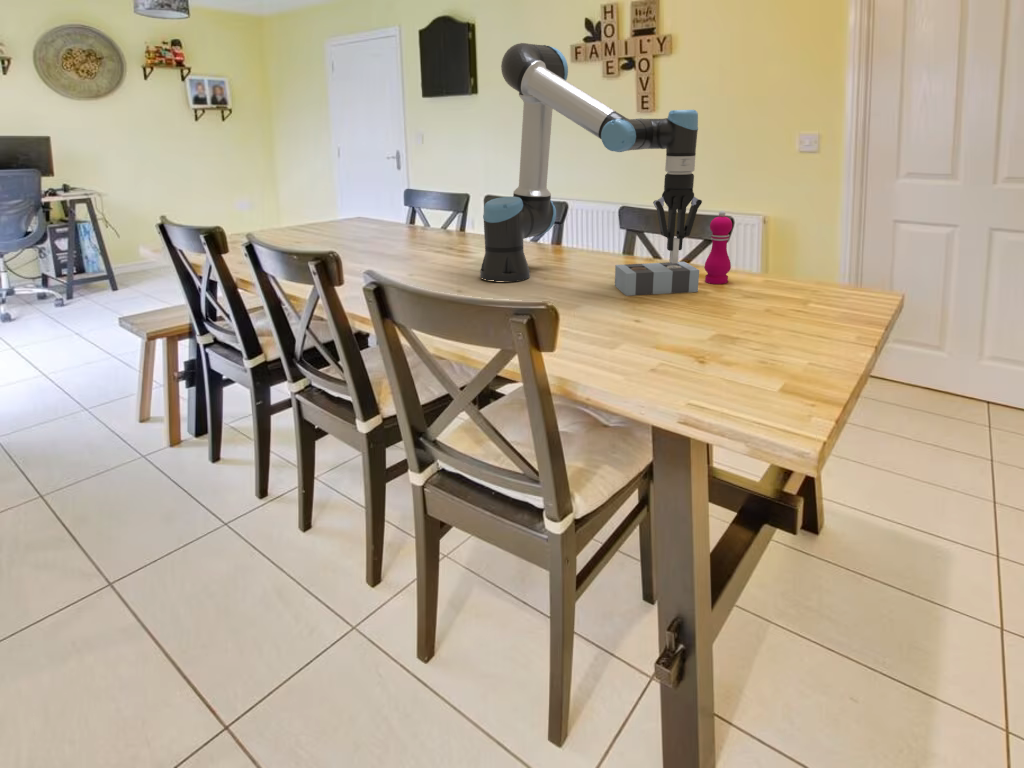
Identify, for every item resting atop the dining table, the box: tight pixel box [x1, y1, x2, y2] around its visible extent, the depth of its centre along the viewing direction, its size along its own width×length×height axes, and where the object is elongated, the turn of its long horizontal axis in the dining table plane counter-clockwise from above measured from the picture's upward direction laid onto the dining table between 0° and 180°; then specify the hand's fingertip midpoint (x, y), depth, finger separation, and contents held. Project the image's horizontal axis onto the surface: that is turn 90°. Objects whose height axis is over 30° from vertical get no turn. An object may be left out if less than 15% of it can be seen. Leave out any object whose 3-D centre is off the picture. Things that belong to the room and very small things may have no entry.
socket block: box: [614, 261, 700, 297], centre depth 186 cm, size 20×12×6 cm, turn 96°
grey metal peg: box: [667, 265, 681, 269], centre depth 187 cm, size 4×4×6 cm
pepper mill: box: [704, 210, 733, 285], centre depth 190 cm, size 7×7×20 cm
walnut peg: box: [631, 267, 646, 270], centre depth 186 cm, size 4×4×6 cm
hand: (673, 262), depth 185 cm, fingers closed
